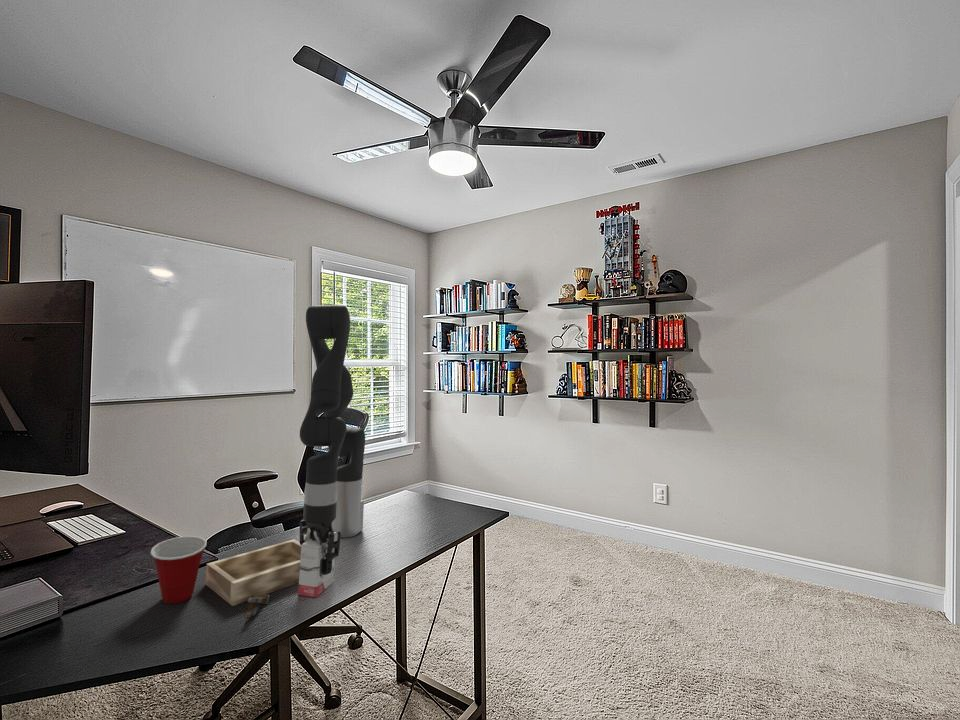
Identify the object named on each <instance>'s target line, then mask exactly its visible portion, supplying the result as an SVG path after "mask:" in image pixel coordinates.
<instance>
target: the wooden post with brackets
mask: <svg viewBox="0 0 960 720" xmlns="http://www.w3.org/2000/svg"><path fill="white" fill-rule="evenodd" d="M269 599H270V594H265V595H261V596H260V597H255V596H254V595H252V596H251V597H249V599H248V601H247V603H249V604H248V608H247V611H246V613H245V614H246V616H245V620H250V619H251V616H255V615H257V611H258V610H257V609H253V606H254V605H255V603H256V604H257V603H259V604H261V605H262V604H266V605H267V604H269Z"/></svg>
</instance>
